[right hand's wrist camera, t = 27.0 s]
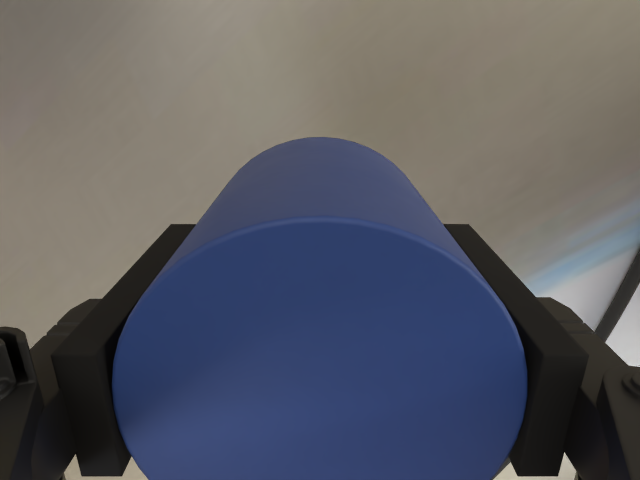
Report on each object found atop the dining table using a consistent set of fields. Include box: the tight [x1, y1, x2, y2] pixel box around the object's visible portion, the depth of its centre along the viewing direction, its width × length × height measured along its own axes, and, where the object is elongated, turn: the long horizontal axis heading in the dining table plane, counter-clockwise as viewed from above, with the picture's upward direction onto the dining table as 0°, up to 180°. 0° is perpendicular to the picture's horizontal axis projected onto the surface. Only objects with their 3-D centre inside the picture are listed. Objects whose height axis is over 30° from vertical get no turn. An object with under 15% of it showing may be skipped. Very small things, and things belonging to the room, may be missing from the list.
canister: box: [112, 137, 527, 480], centre depth 12 cm, size 7×7×8 cm
